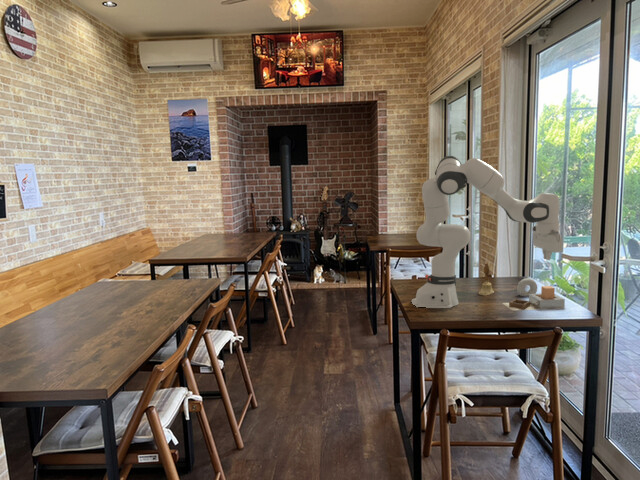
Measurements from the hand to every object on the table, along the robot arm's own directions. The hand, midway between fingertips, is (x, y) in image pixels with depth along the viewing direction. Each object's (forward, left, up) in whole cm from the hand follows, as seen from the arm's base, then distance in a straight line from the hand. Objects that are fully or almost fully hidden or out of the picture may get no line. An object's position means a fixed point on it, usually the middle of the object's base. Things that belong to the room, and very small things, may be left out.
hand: (547, 259), depth 209 cm
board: (-6, 0, -23) cm, 23 cm away
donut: (-1, +18, -23) cm, 29 cm away
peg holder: (-12, 0, -21) cm, 24 cm away
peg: (0, -1, -21) cm, 21 cm away
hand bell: (-17, +29, -23) cm, 40 cm away
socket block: (0, 0, -21) cm, 21 cm away
